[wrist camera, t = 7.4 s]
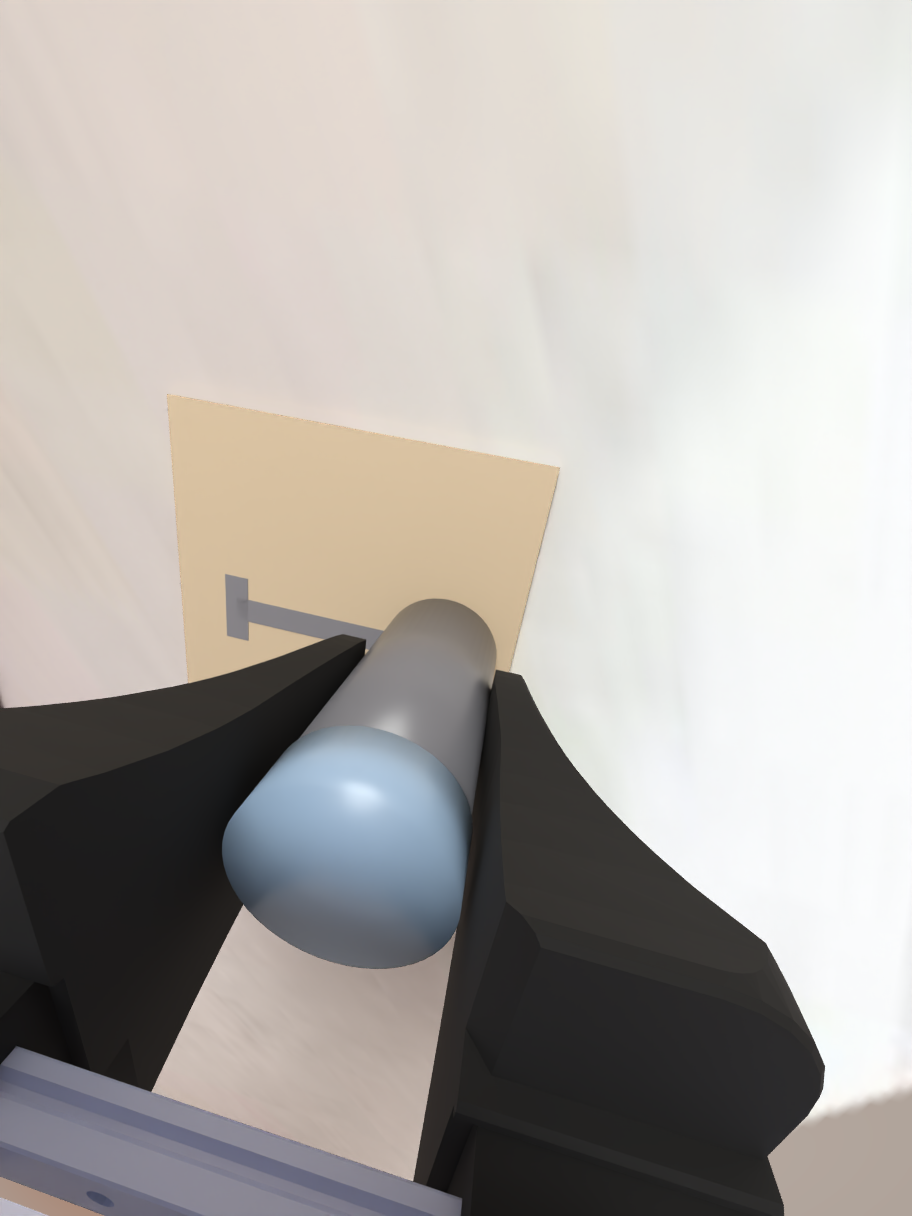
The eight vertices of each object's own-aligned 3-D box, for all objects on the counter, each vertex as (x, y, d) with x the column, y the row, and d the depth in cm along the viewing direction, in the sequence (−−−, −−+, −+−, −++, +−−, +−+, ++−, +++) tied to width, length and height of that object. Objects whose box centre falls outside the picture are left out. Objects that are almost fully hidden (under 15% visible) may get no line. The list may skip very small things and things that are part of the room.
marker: (486, 713, 13) (441, 994, 6) (378, 688, 13) (226, 931, 6) (509, 610, 11) (482, 825, 5) (389, 585, 12) (216, 758, 5)
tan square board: (474, 810, 14) (473, 815, 14) (196, 737, 15) (191, 741, 15) (559, 467, 10) (560, 468, 10) (172, 394, 11) (166, 394, 11)
